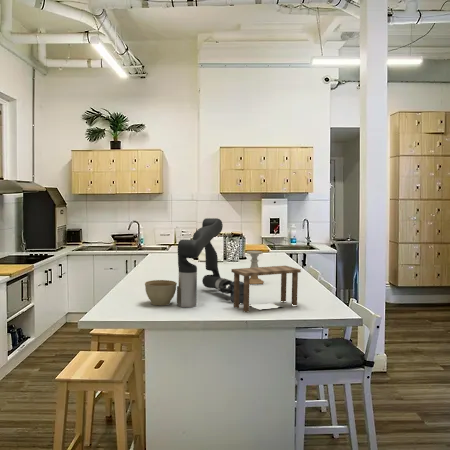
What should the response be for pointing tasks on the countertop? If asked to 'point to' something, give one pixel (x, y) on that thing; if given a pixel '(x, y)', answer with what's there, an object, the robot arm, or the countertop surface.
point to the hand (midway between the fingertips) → (238, 291)
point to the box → (241, 292)
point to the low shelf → (264, 271)
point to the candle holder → (254, 266)
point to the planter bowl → (160, 291)
